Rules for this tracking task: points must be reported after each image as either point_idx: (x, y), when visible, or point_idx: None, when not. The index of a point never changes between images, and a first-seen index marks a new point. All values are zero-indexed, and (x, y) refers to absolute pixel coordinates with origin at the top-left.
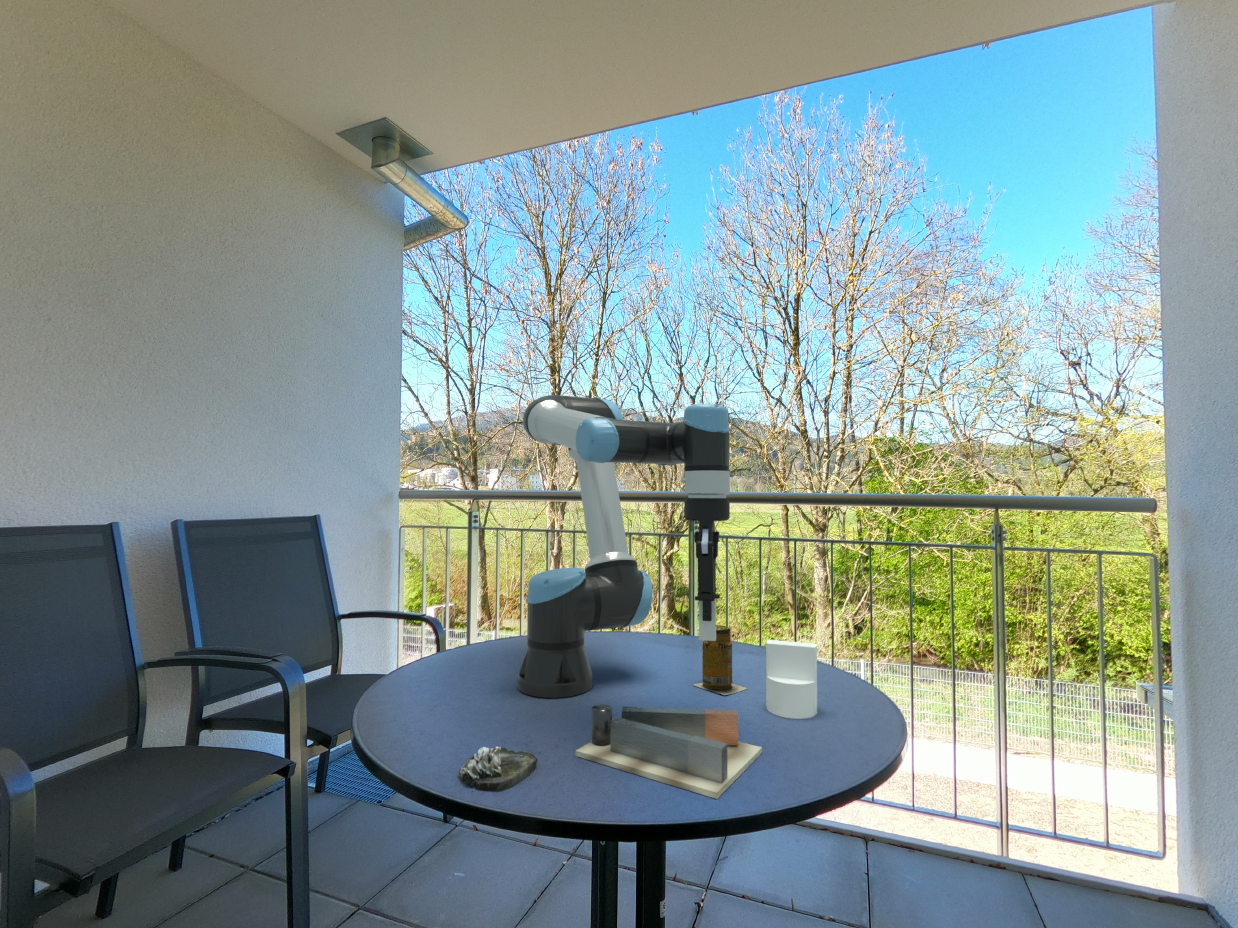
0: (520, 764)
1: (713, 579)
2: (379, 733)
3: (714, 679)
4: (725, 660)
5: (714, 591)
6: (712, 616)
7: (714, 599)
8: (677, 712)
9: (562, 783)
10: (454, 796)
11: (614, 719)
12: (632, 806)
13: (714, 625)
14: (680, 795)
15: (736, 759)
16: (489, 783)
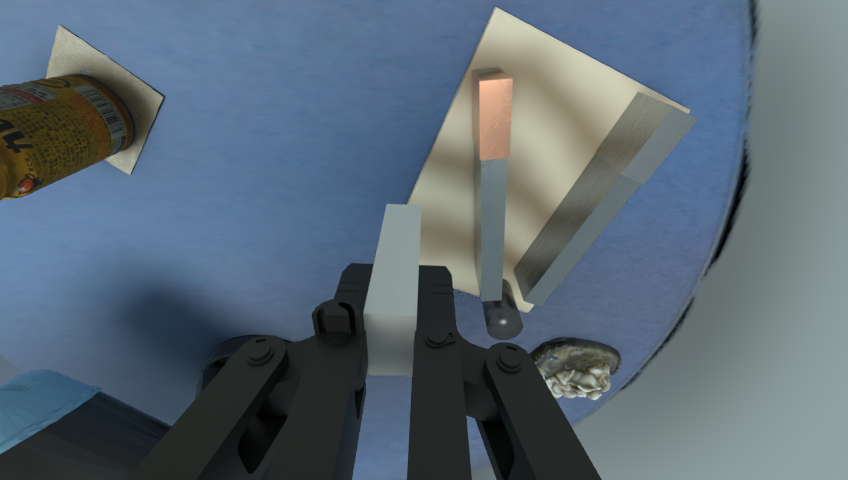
0: (578, 354)
1: (554, 473)
2: (479, 461)
3: (114, 129)
4: (48, 112)
5: (355, 357)
6: (419, 271)
7: (365, 318)
8: (502, 212)
9: (605, 305)
10: (624, 379)
11: (533, 302)
12: (680, 224)
13: (419, 240)
14: (660, 165)
15: (559, 72)
16: (618, 366)
